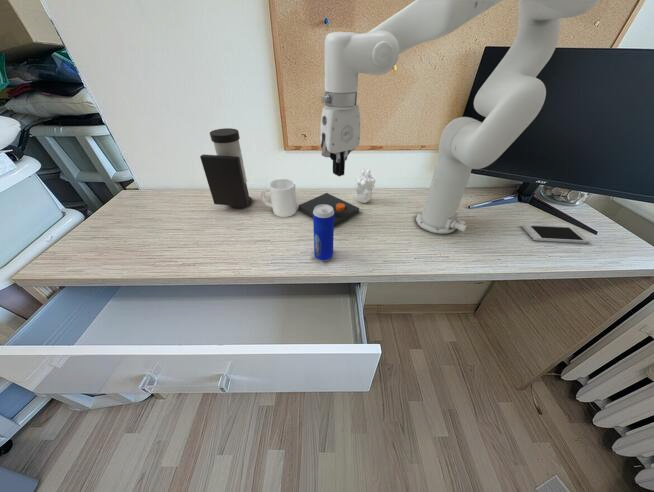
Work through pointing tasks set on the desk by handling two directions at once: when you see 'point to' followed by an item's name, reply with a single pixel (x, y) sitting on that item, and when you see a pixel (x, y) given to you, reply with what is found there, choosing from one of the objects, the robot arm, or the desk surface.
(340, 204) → the tare button
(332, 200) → the scale
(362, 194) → the figurine
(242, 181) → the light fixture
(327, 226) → the beverage can
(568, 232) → the smartphone
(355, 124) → the robot arm
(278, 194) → the mug
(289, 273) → the desk surface
